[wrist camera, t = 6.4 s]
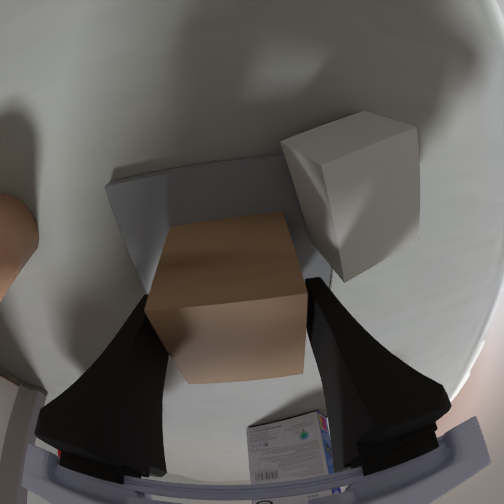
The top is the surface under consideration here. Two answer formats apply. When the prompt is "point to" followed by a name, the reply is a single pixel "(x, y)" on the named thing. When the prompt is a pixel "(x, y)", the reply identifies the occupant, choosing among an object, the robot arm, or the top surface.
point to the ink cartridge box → (290, 454)
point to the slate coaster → (208, 207)
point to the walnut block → (230, 300)
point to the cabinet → (16, 433)
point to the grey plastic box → (357, 188)
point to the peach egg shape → (15, 239)
